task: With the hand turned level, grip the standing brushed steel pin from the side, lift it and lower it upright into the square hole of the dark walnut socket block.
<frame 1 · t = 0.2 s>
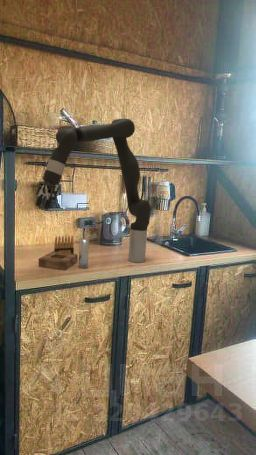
hand: (41, 207, 161), 31 cm above the worktop, tool tilted 20°, fingers open, 8 cm apart
steel pin: (83, 267, 182), on the worktop
walnut socket block: (58, 264, 185), on the worktop
ammunition clip: (63, 257, 199), on the worktop
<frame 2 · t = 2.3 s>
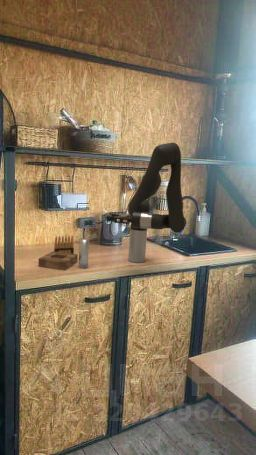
hand: (109, 217, 176), 26 cm above the worktop, tool horizontal, fingers open, 8 cm apart
nothing on the worktop moved.
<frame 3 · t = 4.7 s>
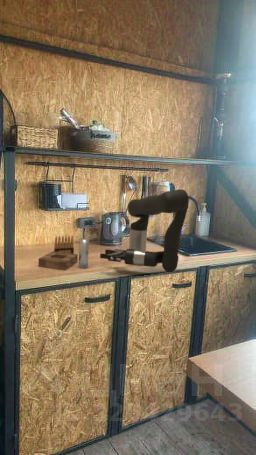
hand: (102, 253, 179), 8 cm above the worktop, tool horizontal, fingers open, 8 cm apart
nothing on the worktop moved.
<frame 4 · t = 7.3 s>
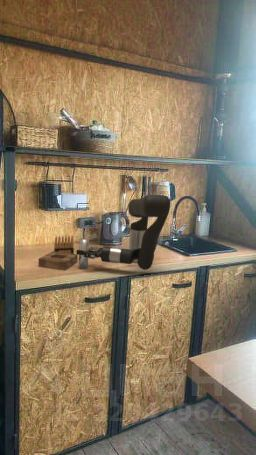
hand: (78, 250, 181), 8 cm above the worktop, tool horizontal, fingers closed on steel pin, 4 cm apart
steel pin: (83, 267, 182), on the worktop, touching gripper
everything else where it was.
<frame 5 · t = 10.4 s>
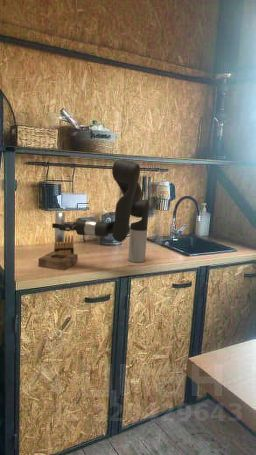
hand: (54, 224, 182), 20 cm above the worktop, tool horizontal, fingers closed on steel pin, 4 cm apart
steel pin: (59, 241, 183), point 12 cm above the worktop, touching gripper
everything else where it was.
when the fingers open (9 cm above the worktop, at t = 13.3 s): steel pin drops 1 cm, resting in walnut socket block.
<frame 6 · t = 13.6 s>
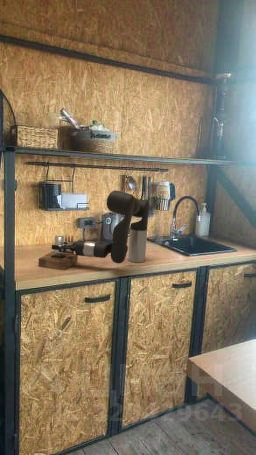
hand: (55, 245, 184), 10 cm above the worktop, tool horizontal, fingers open, 7 cm apart
steel pin: (58, 264, 185), resting in walnut socket block
everything else where it was.
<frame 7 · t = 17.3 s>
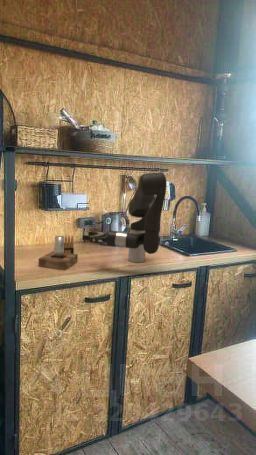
hand: (85, 235, 180), 16 cm above the worktop, tool horizontal, fingers open, 8 cm apart
nothing on the worktop moved.
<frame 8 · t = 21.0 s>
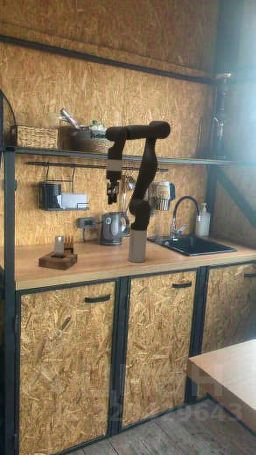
hand: (112, 203, 178), 32 cm above the worktop, tool pointing down, fingers open, 8 cm apart
nothing on the worktop moved.
at the end: steel pin 0.1 cm off-centre on the walnut socket block, point 0.0 cm above the walnut socket block's base; steel pin tilted 0°; the gripper is holding nothing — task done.
